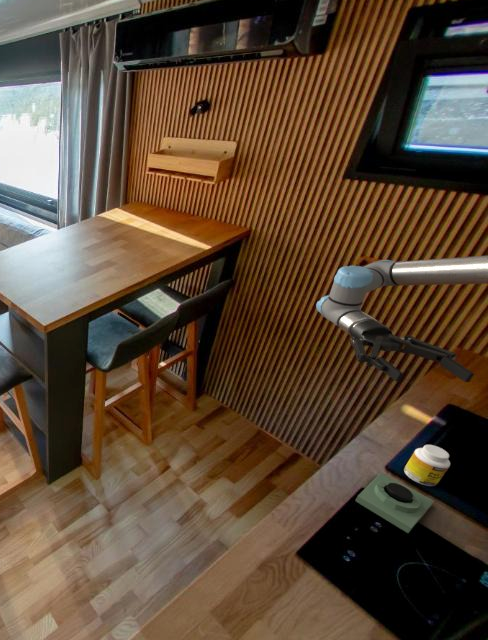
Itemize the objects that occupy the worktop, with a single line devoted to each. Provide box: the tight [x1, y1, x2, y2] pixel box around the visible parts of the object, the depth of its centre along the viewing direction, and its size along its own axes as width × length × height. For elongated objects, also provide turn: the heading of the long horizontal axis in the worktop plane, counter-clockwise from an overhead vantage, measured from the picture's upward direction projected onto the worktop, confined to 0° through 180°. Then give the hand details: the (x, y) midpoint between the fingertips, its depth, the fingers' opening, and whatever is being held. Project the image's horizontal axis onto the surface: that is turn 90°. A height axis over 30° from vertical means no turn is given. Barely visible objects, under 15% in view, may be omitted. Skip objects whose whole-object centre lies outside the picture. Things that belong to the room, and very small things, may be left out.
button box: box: [354, 472, 435, 534], centre depth 88 cm, size 12×9×4 cm
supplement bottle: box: [403, 444, 451, 487], centre depth 91 cm, size 6×6×10 cm
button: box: [385, 483, 413, 503], centre depth 87 cm, size 4×4×2 cm
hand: (434, 377), depth 90 cm, fingers open, 13 cm apart
